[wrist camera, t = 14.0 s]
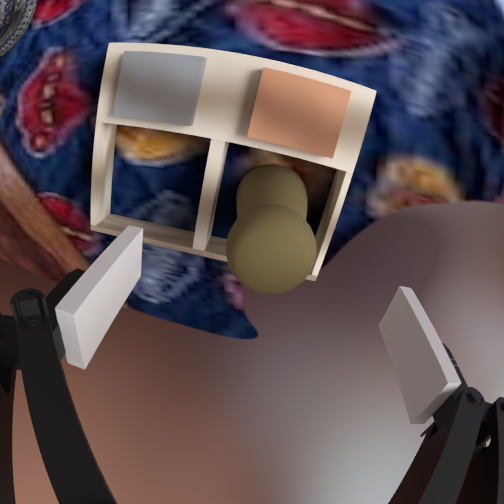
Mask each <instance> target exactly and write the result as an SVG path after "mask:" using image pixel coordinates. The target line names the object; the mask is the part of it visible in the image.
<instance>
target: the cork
mask: <svg viewBox="0 0 504 504" xmlns="http://www.w3.org/2000/svg"><path fill="white" fill-rule="evenodd" d="M236 204H237V220H236V221H235V223H234V225H233V226H232V228H231V230H230V231H229V234H228V237H227V242H226V248H225V250H226V256H227V262H228V266H229V268H230V269H231V271H232V273H233V275H234V276H235V277H236V278H237V279H238V280H239V281H240V282H241V283H242V284H243V285H244V286H246V287H248V288H250V289H252V290H254V291H256V292H261V293H265V294H276V293H282V292H285V291H288V290H291V289H293V288H294V287H296V286H297V285H299V284H300V283H301V282H303V281H304V280H305V279H306V277H307V276H308V275H309V274H310V272H311V271H312V268H313V265H314V262H315V259H316V240H315V237H314V234H313V232H312V229H311V227H310V225H309V224H308V223H307V222H306V216H307V206H308V195H307V189H306V187H305V185H304V182H303V180H302V179H301V178H300V177H299V176H298V175H297V174H296V173H295V172H294V171H292V170H290V169H289V168H287V167H284V166H280V165H276V164H271V165H262V166H260V167H257V168H255V169H253V170H251V171H250V172H249V173H248V174H247V175H245V176H244V177H243V179H242V181H241V183H240V184H239V186H238V190H237V195H236Z"/></svg>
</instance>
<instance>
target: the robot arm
mask: <svg viewBox="0 0 504 504" xmlns="http://www.w3.org/2000/svg"><path fill="white" fill-rule="evenodd" d="M142 240H143V228H139V227H135V226H131V225H129V226H128V227H127V228H126V229H125V230H124V231H123V232H122V233H121V234H120V235H119V236H118V237H117V238H116V239H115V240H114V241H113V242H112V243H111V244H110V245H109V246H108V248H107V249H106V250H105V251H104V252H103V253H102V254H101V255H100V256H99V257H98V258H97V260H96V261H95V262H94V263H93V264H92V265H91V266H90V267H89V268H88V270H87V271H84V270H81V269H75V270H74V271H72V272H70V273H68V274H67V275H66V276H65V277H64V278H63V279H62V280H61V282H59V283H58V285H57V286H56V288H54V289H53V290H52V291H51V292H50V293H49V295H48V296H47V297H46V298H45V296H44V294H43V293H42V292H41V291H39V290H36V289H33V288H31V289H24V290H21V291H19V292H17V293H16V294H14V296H13V297H12V299H11V302H10V305H11V308H12V312H13V315H14V316H7V315H1V313H0V504H16V503H15V493H14V484H13V483H14V482H13V464H12V421H13V401H14V389H15V379H16V370H17V369H19V370H21V371H22V376H23V383H24V388H25V393H26V398H27V403H28V407H29V412H30V416H31V420H32V424H33V428H34V432H35V435H36V439H37V443H38V446H39V449H40V453H41V455H42V459H43V461H44V465H45V468H46V471H47V473H48V476H49V479H50V482H51V484H52V487H53V489H54V492H55V495H56V497H57V499H58V502H59V504H117V502H116V500H115V498H114V496H113V494H112V493H111V491H110V489H109V487H108V485H107V483H106V481H105V479H104V477H103V474H102V472H101V470H100V468H99V466H98V464H97V462H96V459H95V457H94V455H93V453H92V450H91V448H90V445H89V443H88V441H87V438H86V436H85V433H84V431H83V428H82V425H81V423H80V420H79V418H78V415H77V412H76V409H75V406H74V403H73V400H72V397H71V394H70V391H69V388H68V385H67V382H66V378H65V374H64V371H63V367H62V364H61V359H62V358H63V356H64V354H66V357H67V361H68V363H69V364H72V365H75V366H77V367H80V368H82V369H85V368H86V367H87V365H88V363H89V361H90V359H91V358H92V356H93V354H94V352H95V351H96V349H97V347H98V345H99V344H100V342H101V340H102V338H103V337H104V335H105V333H106V332H107V330H108V328H109V327H110V325H111V323H112V321H113V320H114V318H115V317H116V315H117V313H118V312H119V310H120V308H121V307H122V305H123V303H124V302H125V300H126V299H127V297H128V295H129V294H130V292H131V291H132V289H133V288H134V286H135V284H136V283H137V281H138V280H139V278H140V277H141V258H142ZM379 329H380V331H381V334H382V337H383V340H384V342H385V345H386V348H387V351H388V354H389V356H390V359H391V362H392V365H393V368H394V371H395V374H396V377H397V380H398V383H399V387H400V390H401V392H402V396H403V399H404V402H405V406H406V409H407V412H408V415H409V419H410V423H411V424H424V423H425V422H426V421H427V420H428V419H429V418H430V417H431V416H432V415H433V418H434V422H433V423H432V424H431V425H430V426H429V427H428V428H427V429H426V430H425V431H424V432H423V433H422V434H421V437H422V436H423V435H425V434H426V436H425V438H424V440H423V442H422V444H421V446H420V448H419V450H418V452H417V454H416V456H415V458H414V460H413V462H412V464H411V466H410V468H409V469H408V471H407V473H406V475H405V476H404V478H403V480H402V482H401V484H400V485H399V487H398V489H397V490H396V492H395V494H394V495H393V497H392V498H391V500H390V502H389V503H388V504H504V398H503V397H499V398H498V399H497V400H496V401H495V402H494V403H493V404H491V403H488V402H485V401H484V398H483V396H482V394H481V393H480V392H479V391H478V390H476V389H475V388H473V387H468V386H467V384H466V382H465V380H464V378H463V376H462V373H461V372H460V369H459V367H457V363H456V361H455V360H454V357H453V356H452V354H451V352H450V350H449V349H448V348H447V347H446V346H445V344H444V343H442V342H441V341H440V339H439V337H438V335H437V333H436V331H435V329H434V327H433V326H432V324H431V322H430V320H429V318H428V317H427V315H426V313H425V311H424V310H423V308H422V306H421V304H420V303H419V301H418V299H417V297H416V296H415V294H414V292H413V290H412V289H411V288H407V287H402V286H400V287H399V289H398V291H397V292H396V294H395V296H394V298H393V300H392V302H391V304H390V306H389V308H388V310H387V312H386V313H385V315H384V317H383V319H382V321H381V322H380V324H379ZM489 439H491V441H490V444H489V446H488V447H486V442H487V441H488V440H489Z"/></svg>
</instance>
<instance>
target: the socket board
mask: <svg viewBox="0 0 504 504" xmlns="http://www.w3.org/2000/svg"><path fill="white" fill-rule="evenodd" d="M375 95H376V91H375V90H372V89H370V88H367V87H364V86H361V85H359V84H356V83H353V82H350V81H347V80H344V79H341V78H337V77H334V76H331V75H328V74H324V73H321V72H317V71H314V70H310V69H307V68H303V67H299V66H295V65H291V64H287V63H283V62H279V61H274V60H270V59H265V58H260V57H255V56H250V55H244V54H239V53H233V52H227V51H220V50H213V49H206V48H197V47H188V46H178V45H165V44H148V43H109V46H108V51H107V56H106V61H105V66H104V71H103V77H102V83H101V89H100V96H99V103H98V110H97V119H96V128H95V137H94V149H93V163H92V182H91V230H93V231H97V232H102V233H106V234H110V235H114V236H119V235H120V234H121V233H122V232H123V231H124V230H125V229H126V228H127V227H128V226H129V225H131V226H135V227H139V228H143V240H142V242H144V243H148V244H152V245H156V246H161V247H165V248H169V249H174V250H178V251H182V252H187V253H191V254H195V255H200V256H204V257H208V258H213V259H217V260H222V261H226V262H227V256H226V250H225V248H226V242H227V239H223V238H219V237H214V236H211V232H212V226H213V221H214V216H215V210H216V205H217V200H218V195H219V189H220V184H221V179H222V174H223V169H224V164H225V160H226V155H227V150H228V145H229V142H231V143H236V144H241V145H245V146H250V147H254V148H259V149H263V150H268V151H272V152H276V153H280V154H284V155H288V156H292V157H296V158H300V159H304V160H307V161H311V162H315V163H318V164H322V165H326V166H329V167H333V168H336V169H337V170H336V173H335V177H334V180H333V183H332V186H331V190H330V193H329V196H328V199H327V202H326V205H325V209H324V212H323V215H322V218H321V221H320V224H319V227H318V230H317V233H316V236H315V240H316V259H315V262H314V265H313V268H312V271H311V272H310V274H309V275H308V276H307V277H306V279H308V280H313V281H315V280H316V278H317V275H318V273H319V270H320V267H321V265H322V262H323V259H324V256H325V254H326V251H327V248H328V245H329V243H330V240H331V237H332V234H333V231H334V228H335V226H336V223H337V220H338V217H339V214H340V211H341V208H342V205H343V202H344V199H345V196H346V193H347V190H348V187H349V184H350V180H351V177H352V174H353V171H354V168H355V165H356V161H357V158H358V155H359V151H360V148H361V145H362V141H363V138H364V135H365V131H366V128H367V124H368V121H369V117H370V113H371V110H372V106H373V102H374V99H375ZM117 124H120V125H128V126H136V127H144V128H151V129H158V130H165V131H171V132H177V133H183V134H189V135H195V136H200V137H206V138H211V143H210V148H209V154H208V159H207V164H206V170H205V175H204V181H203V186H202V192H201V198H200V204H199V210H198V216H197V222H196V229H195V232H192V231H188V230H183V229H179V228H174V227H170V226H165V225H161V224H156V223H151V222H147V221H142V220H138V219H133V218H129V217H124V216H120V215H115V214H110V203H111V185H112V170H113V159H114V148H115V139H116V130H117Z"/></svg>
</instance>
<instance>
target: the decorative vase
mask: <svg viewBox="0 0 504 504" xmlns="http://www.w3.org/2000/svg"><path fill="white" fill-rule="evenodd" d="M37 1H38V0H0V57H1V56H3V55H4V54H6V53H7V52H8V51H10V50H11V49H12V48H13V47H14V46H15V45H16V44H17V43H18V41H19V40H20V39H21V37H22V36H23V35H24V33H25V31H26V30H27V28H28V26H29V24H30V22H31V20H32V18H33V15H34V12H35V8H36V5H37Z"/></svg>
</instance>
